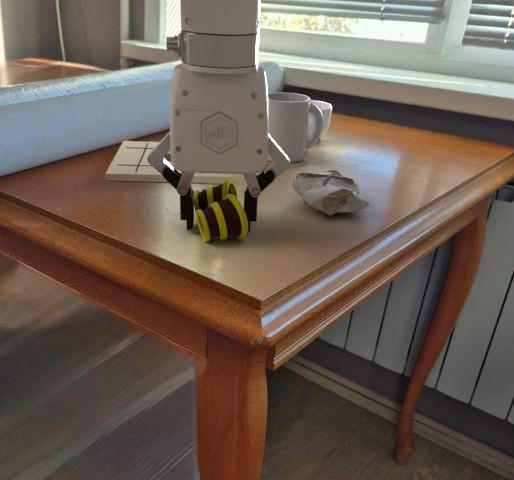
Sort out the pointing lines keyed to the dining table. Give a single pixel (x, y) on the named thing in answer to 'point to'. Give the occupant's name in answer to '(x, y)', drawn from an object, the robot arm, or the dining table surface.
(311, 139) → the cup
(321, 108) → the teacup
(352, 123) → the dining table surface
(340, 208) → the stone
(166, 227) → the dining table surface
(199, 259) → the dining table surface
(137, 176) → the board
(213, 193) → the opera glasses
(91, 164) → the dining table surface
